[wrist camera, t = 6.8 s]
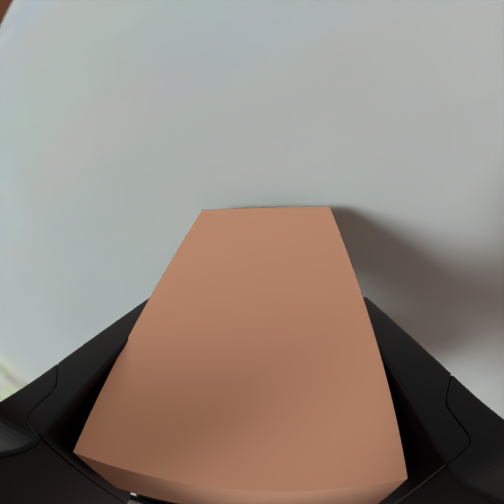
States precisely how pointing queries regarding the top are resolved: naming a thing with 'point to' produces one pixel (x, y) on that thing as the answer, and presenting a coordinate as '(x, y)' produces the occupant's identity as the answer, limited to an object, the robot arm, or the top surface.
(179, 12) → the top surface
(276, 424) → the domino end
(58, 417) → the robot arm
